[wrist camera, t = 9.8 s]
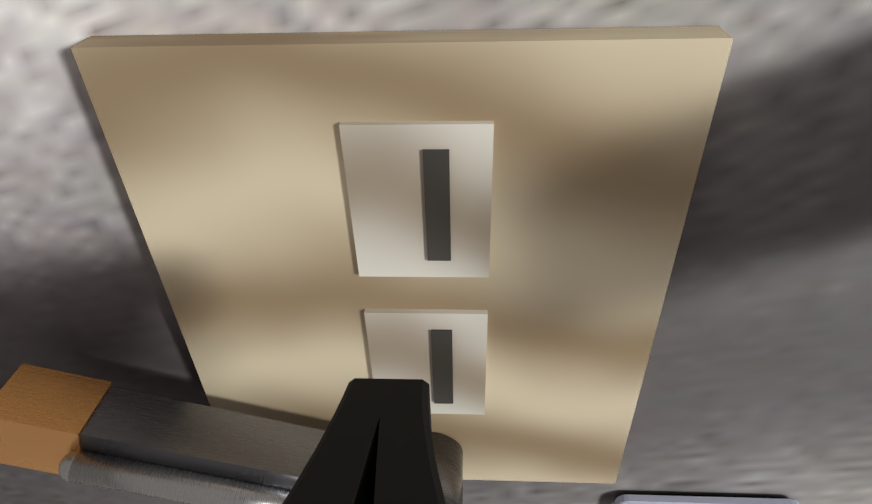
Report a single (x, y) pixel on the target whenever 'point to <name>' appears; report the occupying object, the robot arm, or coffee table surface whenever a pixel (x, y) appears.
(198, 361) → the label board
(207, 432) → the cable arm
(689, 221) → the coffee table surface
